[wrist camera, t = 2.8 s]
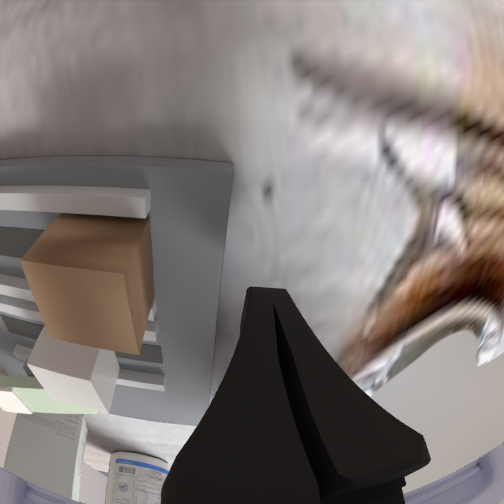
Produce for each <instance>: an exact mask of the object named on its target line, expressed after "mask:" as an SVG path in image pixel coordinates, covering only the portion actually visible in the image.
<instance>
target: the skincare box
mask: <svg viewBox="0 0 504 504" xmlns="http://www.w3.org/2000/svg"><path fill="white" fill-rule="evenodd" d="M87 433H88V430H87V425H86V421H85V417H84V415H83V414H57V413H39V412H33V413H32V414H24V413H17V416H16V419H15V423H14V426H13V430H12V434H11V438H10V442H9V446H8V450H7V454H6V459H5V464H4V469H5V470H7V471H9V472H11V473H13V474H15V475H17V476H19V477H21V478H23V479H24V480H26V481H28V482H30V483H32V484H34V485H37V486H39V487H41V488H43V489H46V490H48V491H50V492H53V493H55V494H58V495H61V496H63V497H66V498H69V499H72V500H75V501H78V502H79V490H80V489H79V488H80V479H81V471H82V464H83V457H84V450H85V444H86V438H87Z"/></svg>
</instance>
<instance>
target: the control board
mask: <svg viewBox="0 0 504 504" xmlns="http://www.w3.org/2000/svg"><path fill="white" fill-rule="evenodd" d="M233 175H234V163H228V162H218V161H208V160H196V159H182V158H166V157H146V156H110V155H81V156H46V157H28V158H14V159H2V160H0V365H1V366H2V368H3V369H4V370H5V372H6V373H7V374H8V375H11V376H28V377H35V375H34V374H33V373H32V371H31V370H30V368H29V367H28V365H27V364H26V363H27V361H28V359H29V357H30V354H31V352H32V350H33V348H34V345H35V343H36V341H37V339H38V337H39V335H40V333H41V331H42V329H43V327H44V325H45V323H44V321H43V318H42V316H41V314H40V312H39V309H38V307H37V305H36V302H35V300H34V297H33V295H32V292H31V290H30V287H29V284H28V282H27V279H26V276H25V273H24V270H23V267H22V264H21V261H20V260H21V259H22V257H23V256H24V255H25V254H26V252H27V251H28V250H29V249H30V247H31V246H32V245H33V244H34V243H35V241H36V240H37V239H38V238H39V237H40V236H41V234H42V233H43V232H44V231H45V230H46V229H47V228H48V227H49V225H50V224H51V223H52V222H53V221H54V220H55V219H56V218H57V217H58V216H59V214H60V213H74V214H90V215H105V216H120V217H133V218H146V217H147V216H148V217H150V226H151V250H152V267H153V281H154V293H155V294H154V298H153V302H152V306H151V309H150V313H149V317H148V321H147V325H146V329H145V333H144V337H143V341H142V346H141V350H140V354H139V355H136V354H129V353H122V352H116V351H114V352H115V355H116V358H117V361H118V364H119V367H120V369H119V373H118V377H117V382H116V386H115V390H114V394H113V399H112V403H111V408H110V414H115V415H120V416H125V417H131V418H136V419H143V420H149V421H156V422H164V423H172V424H182V425H193V426H197V425H198V424H199V422H200V420H201V419H202V417H203V415H204V414H205V412H206V410H207V409H208V407H209V404H210V391H211V379H212V367H213V355H214V344H215V333H216V323H217V313H218V303H219V293H220V284H221V274H222V265H223V256H224V248H225V239H226V231H227V222H228V214H229V206H230V198H231V190H232V183H233Z"/></svg>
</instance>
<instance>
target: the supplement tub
mask: <svg viewBox="0 0 504 504" xmlns="http://www.w3.org/2000/svg"><path fill="white" fill-rule="evenodd" d="M169 471H170V466H169V465H168V464H167V463H166V462H164V461H162V460H160V459H157V458H154V457H151V456H147V455H143V454H138V453H132V452H123V451H120V452H115V453H113V454H112V455H111V458H110V464H109V472H108V479H107V489H106V499H105V504H161V489H162V485H163V483H164V481H165V479H166V476H167V475H168V473H169Z"/></svg>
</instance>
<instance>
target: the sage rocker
mask: <svg viewBox="0 0 504 504" xmlns="http://www.w3.org/2000/svg"><path fill="white" fill-rule="evenodd" d="M0 407H1V408H2V409H3V410H4V411H7V412H15V413H24V414H32V413H33V412H39V413H57V414H99V412H97V411H92V410H88V409H84V408H80V407H77V406H73V405H69V404H66V403H62V402H59V401H56V400H52V398H51V397H50V396H49V394H48V393H47V392H46V390H45V389H44V388H43V386H42V385H41V384H40V382H39V381H38V380H37V378H36V377H28V376H11V375H0Z"/></svg>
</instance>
